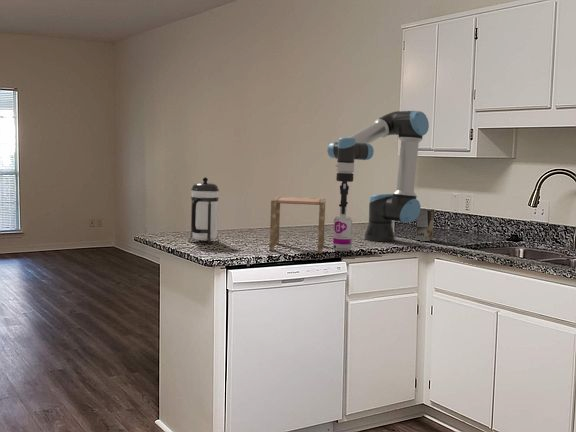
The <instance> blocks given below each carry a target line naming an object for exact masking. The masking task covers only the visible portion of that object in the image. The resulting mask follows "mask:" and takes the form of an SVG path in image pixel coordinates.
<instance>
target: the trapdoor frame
mask: <svg viewBox="0 0 576 432" xmlns="http://www.w3.org/2000/svg"><path fill="white" fill-rule="evenodd" d="M281 197H282V196H275V197H274V198H272V199H271V201H270V222H269V224H270V227H269V228H270V229H269V251H270V250H271V251H270V252H272V251H273V252H275V249H276V248H275V247H276V246H275V245H279V244H280V225H281V224H280V223H281V222H280V221H281V220H280V219H281V203H277V200H278V199H280V198H281ZM286 197H287V198H298V197H297V196H296V197H293V196H286ZM311 198H312V199H320V205H318V206H319V210H318V211H319V213H318V235H317V237H318V239H317V254H323V247H324V245H325V243H324V242H325V221H326V219H325V218H326V198H323V197H322V198H318V197H314V198H313V197H311Z"/></svg>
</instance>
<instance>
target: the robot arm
mask: <svg viewBox="0 0 576 432" xmlns="http://www.w3.org/2000/svg"><path fill="white" fill-rule="evenodd" d="M429 124H430V122H429V119H428V117H427V115H426V113H424V112H423V111H421V110H420V111H419V110H403V111H402V110H401V111H400V110H399V111H398V110H397V111H393V112H392V111H391V112H389V113H387V114H385V115H384V114H383V116H381V117H378V118H377V119H375V120H374V121H373V123H372V124H370V125H368V126H366V127H365V128H363V129H361V130H359V131H357V132H355V133H354V134H352V135H350V136H348V137H339V139H338V141H335V142H330V143H329V144H328V146H327V154H328V157H330V158H331V159H335V160H337V161H336V162H337V163H336V164H335V167H336V171H337V173H336V176H335V177H336V181H337V182H341V185H339V194H340V204H338V207H339V216H340V221H341V222H346V216H347V208H348V207H347V205H348V203H349V202H348V201H347V199H348V195H349V189H350V185H348V183H349V182H350V183H352V182H354V172H355V160H358V161H359V160H360V161H366V160H367V161H369V160H370V159H372V157H373V156H374V153H375V152H374V147H373V145H371V143H373V142H375V141H376V140H378V139H380V138H385V137H388V136H394V135H395V136H397V137H398V140H399V141H400V148H399V156H398V157H399V159H398V166H397V167H398V169H397V179H396V189H395V191H393V193H384V194H372V195H371V196H370V197H369V205H368V225H367V227H366V230H365V233H364V240H367V241H372V242H373V241H374V242H394V241H395V239H396V237H395V236H396V235H395V231H394V228H393V221H394V222H400V223H413V222H414V221H416V220H417V218H418V215H419V213H420V209H422V208H421V203H420V201H419V200H418V199H417V198H418V196H417V194H416V193H415V183H416V173H417V163H418V155H419V154H418V153H419V144H420V142H422V140H423V137H424V136H425V135H426V134H427V133H428V131H429V127H430V125H429Z"/></svg>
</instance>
